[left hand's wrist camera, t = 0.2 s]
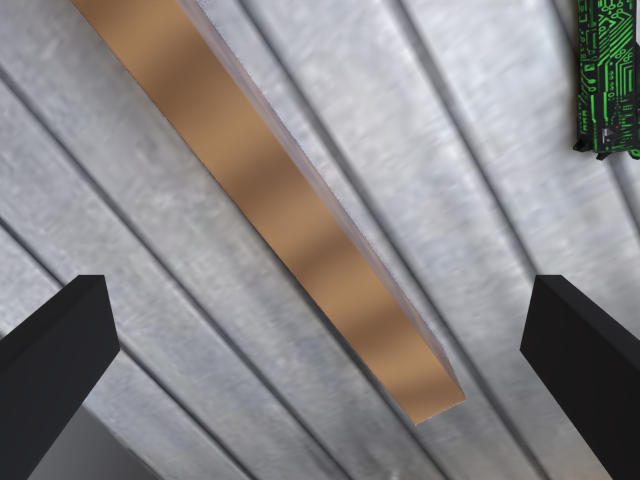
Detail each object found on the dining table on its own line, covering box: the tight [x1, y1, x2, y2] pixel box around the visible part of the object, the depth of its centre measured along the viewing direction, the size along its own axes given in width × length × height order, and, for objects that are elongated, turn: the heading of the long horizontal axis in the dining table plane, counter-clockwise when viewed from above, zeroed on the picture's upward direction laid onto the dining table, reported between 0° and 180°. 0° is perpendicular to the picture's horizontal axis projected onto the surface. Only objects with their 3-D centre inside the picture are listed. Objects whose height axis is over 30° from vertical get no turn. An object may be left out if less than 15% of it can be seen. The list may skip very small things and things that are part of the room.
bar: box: [71, 0, 466, 425], centre depth 35 cm, size 55×6×8 cm, turn 35°
